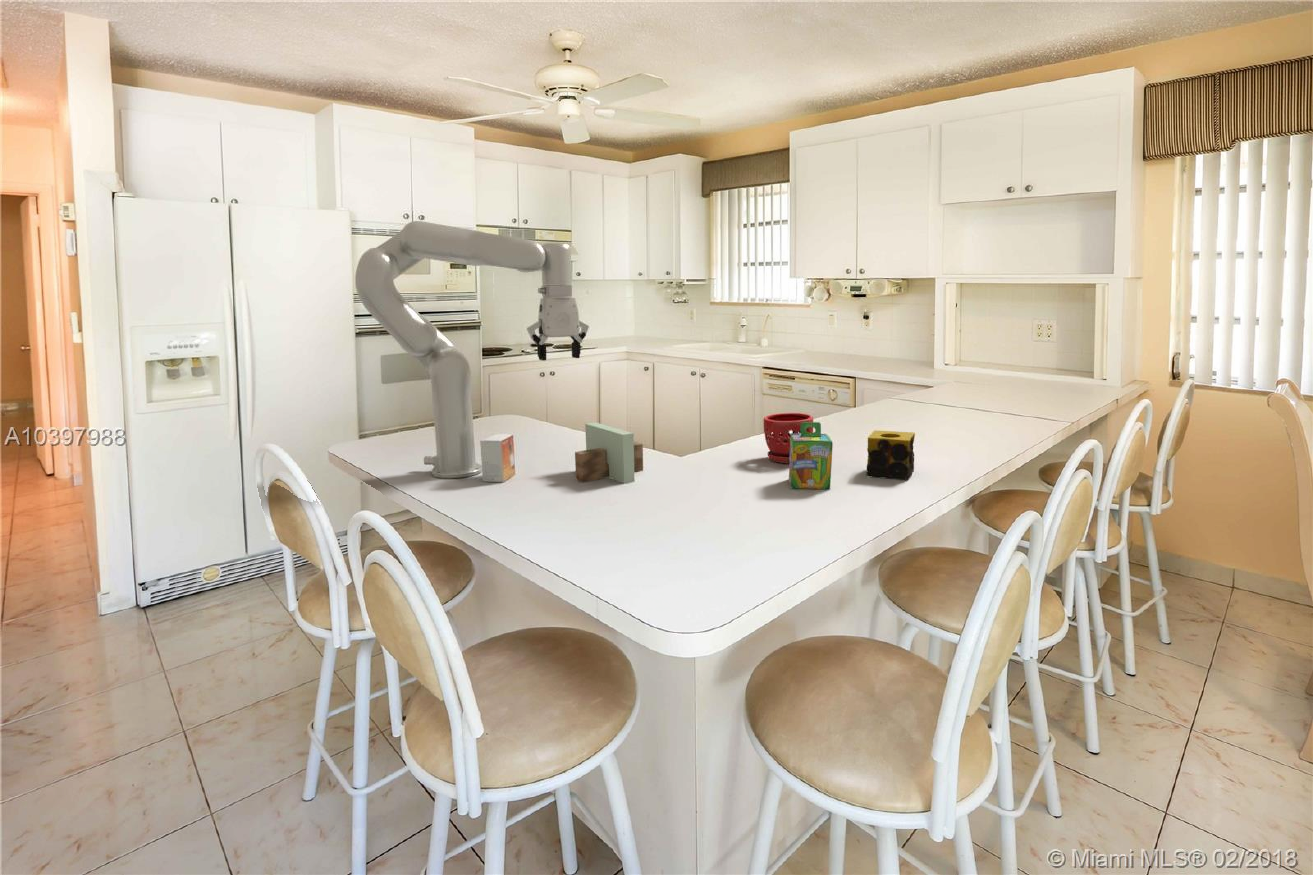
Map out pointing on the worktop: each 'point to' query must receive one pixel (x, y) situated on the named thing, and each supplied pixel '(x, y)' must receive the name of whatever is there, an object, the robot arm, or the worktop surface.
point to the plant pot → (783, 433)
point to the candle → (890, 454)
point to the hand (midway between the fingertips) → (559, 358)
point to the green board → (613, 449)
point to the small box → (497, 458)
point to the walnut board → (601, 463)
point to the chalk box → (810, 458)
